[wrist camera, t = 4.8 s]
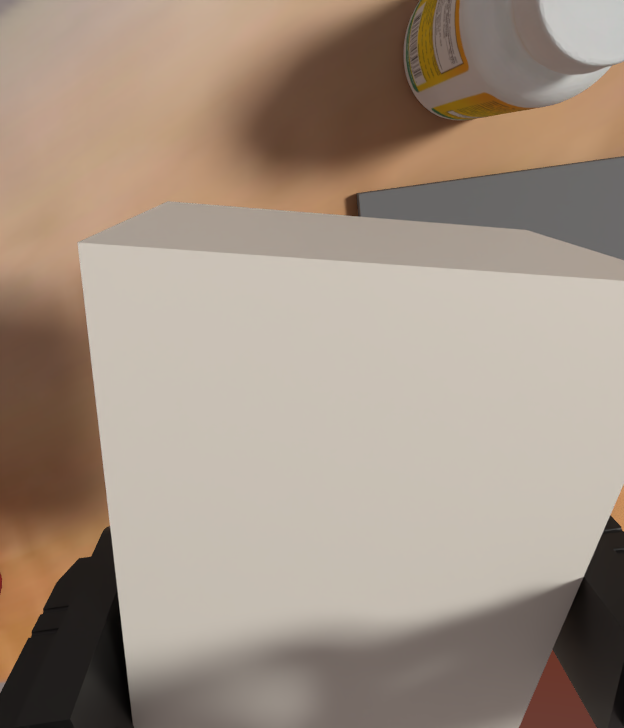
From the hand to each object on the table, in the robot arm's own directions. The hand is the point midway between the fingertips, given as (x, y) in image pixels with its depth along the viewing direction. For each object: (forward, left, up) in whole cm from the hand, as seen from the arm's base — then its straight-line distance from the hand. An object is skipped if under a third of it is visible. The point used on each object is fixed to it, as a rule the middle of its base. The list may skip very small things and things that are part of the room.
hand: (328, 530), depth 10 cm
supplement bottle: (-9, -10, -16) cm, 20 cm away
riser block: (0, 0, -1) cm, 1 cm away
